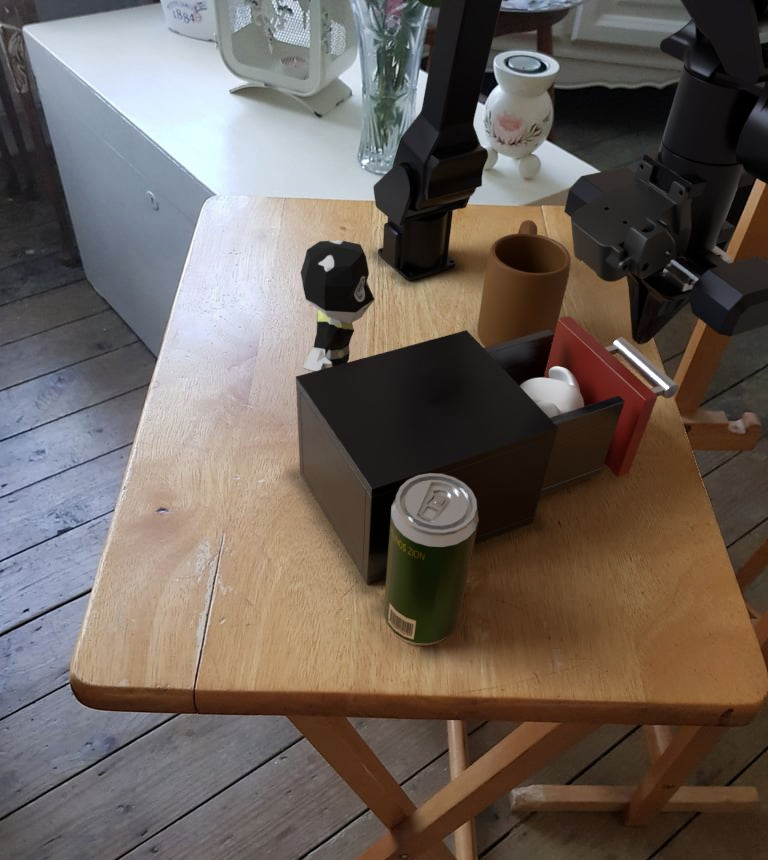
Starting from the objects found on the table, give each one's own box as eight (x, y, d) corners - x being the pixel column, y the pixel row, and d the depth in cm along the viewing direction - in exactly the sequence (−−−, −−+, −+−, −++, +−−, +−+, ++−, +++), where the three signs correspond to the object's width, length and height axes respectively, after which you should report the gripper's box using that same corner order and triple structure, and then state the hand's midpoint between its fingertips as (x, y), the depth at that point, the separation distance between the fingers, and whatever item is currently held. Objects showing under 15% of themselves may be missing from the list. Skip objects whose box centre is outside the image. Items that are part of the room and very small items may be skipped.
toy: (353, 453, 69) (357, 300, 58) (284, 441, 69) (274, 287, 58) (385, 359, 78) (393, 210, 67) (323, 349, 78) (321, 200, 67)
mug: (479, 289, 87) (491, 205, 80) (550, 297, 86) (569, 213, 79) (474, 357, 79) (488, 270, 72) (553, 366, 78) (574, 279, 71)
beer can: (438, 662, 55) (458, 549, 47) (369, 628, 57) (375, 513, 48) (470, 606, 59) (495, 490, 50) (404, 576, 60) (416, 459, 51)
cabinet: (453, 425, 72) (466, 329, 64) (532, 522, 64) (558, 427, 57) (299, 474, 67) (295, 376, 59) (367, 585, 60) (371, 489, 52)
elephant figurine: (572, 480, 65) (589, 424, 61) (478, 449, 67) (488, 392, 63) (593, 429, 69) (610, 373, 65) (504, 401, 71) (515, 345, 67)
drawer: (593, 379, 76) (616, 302, 70) (674, 457, 69) (707, 379, 63) (420, 434, 70) (428, 354, 63) (490, 525, 63) (507, 446, 57)
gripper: (525, 109, 57) (493, 302, 68) (710, 237, 46) (634, 442, 57) (651, 87, 60) (600, 274, 72) (849, 201, 49) (751, 400, 61)
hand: (639, 341), depth 65 cm, fingers closed
